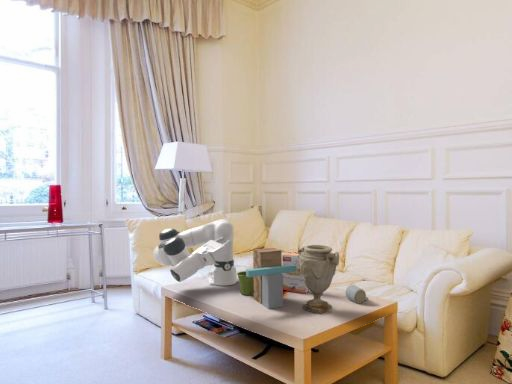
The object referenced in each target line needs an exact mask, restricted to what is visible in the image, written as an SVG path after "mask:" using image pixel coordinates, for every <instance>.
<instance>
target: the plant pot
mask: <svg viewBox="0 0 512 384" xmlns="http://www.w3.org/2000/svg"><path fill="white" fill-rule="evenodd" d="M236 274H237V279H239V281H238V283H239V287H240V288H239V289H240V293H241V295H245V296H252V295H254V277H247V276H246V270H243V271H239V272H238V271H237V272H236Z"/></svg>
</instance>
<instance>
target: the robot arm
mask: <svg viewBox="0 0 512 384" xmlns="http://www.w3.org/2000/svg"><path fill="white" fill-rule="evenodd" d="M158 234H159V235H158V237H159V238H158V239H159V241H160V244H158V245H157V246H156V247H155V248H154V249H153V252H152V256H153V257H152V258H153V259H154V260H155V261H156V263H158V264H159V265H161V266H163V267H171V268H170V270H169V271H170V274H171V276H172V277H173V278H174V279H175V281H177V282H178V283H181V282H184V281H185V280H187V279H189V278H191V277H192V276H194V275H196V274H197V272H198V271H200V270H202V269H204V268H205V267H207V266H213V267H212V268H211V270H210V271H209V273H208V275H209V276H208V277H207V281H208V284H209V285H211V286H220V287H222V286H231V285H235V284H236V283H239V279H238V275H237V268H236V267H235V260H234V226H233V225H232V223H231V221H230V220H228V219H227V218H221V219H216V220H215V221H211V222H209V223H208V222H207V223H205V224H203V225H200V226H196V227H193V228H189V229H186V230H184V231H181V232H180V231H178V230H177V229H175V228H166V229H163V230H162V231H160V233H158ZM198 246H200V247H198ZM195 247H198V248H196V249H195V250H194V251H192V252H190V250H189V249H191V248H195Z"/></svg>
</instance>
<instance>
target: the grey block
mask: <svg viewBox="0 0 512 384" xmlns="http://www.w3.org/2000/svg"><path fill="white" fill-rule="evenodd" d="M261 305H262V306H264V307H265V308H266V309H268V310H271V309H277V308H283V307H284V291H283V273H282V274H281V273H280V274H272V275H263V276H262V304H261Z"/></svg>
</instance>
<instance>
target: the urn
mask: <svg viewBox="0 0 512 384" xmlns="http://www.w3.org/2000/svg"><path fill="white" fill-rule="evenodd" d="M297 250H298V251H297V254H299V255H298V256H299V265H300V272H301V274H302V275H303V279H304V283H305V285H306V287H307V288H308V289H309V291H310V292H311V294H312V296H313V298H312V299H309V300H307V301H306V302H305V303H303V304H301V305H302V306H301V307H302V309H303V310H306V311H308V312H311V313H313V314H318V315H319V314H323V313H326V312H329V311H331V310H332V309H333V306H332V305H331V304H330V303H328V301H325V300H324V299H321V297H322V296H323V293H324V292H326V290H328V289H329V288H330V286H331V284H332V282H333V281H332V280H333V278H334V276H335V275H336V272H337V271H336V269H337V267H338V266H339V264H340V263H339V261H340V253H339V252H338V251H335V252H334V253H333V252H332V251H333V248H332V247H330V246H328V245H321V244H309V245H306V246H302V247H301V248H298V249H297Z"/></svg>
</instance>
